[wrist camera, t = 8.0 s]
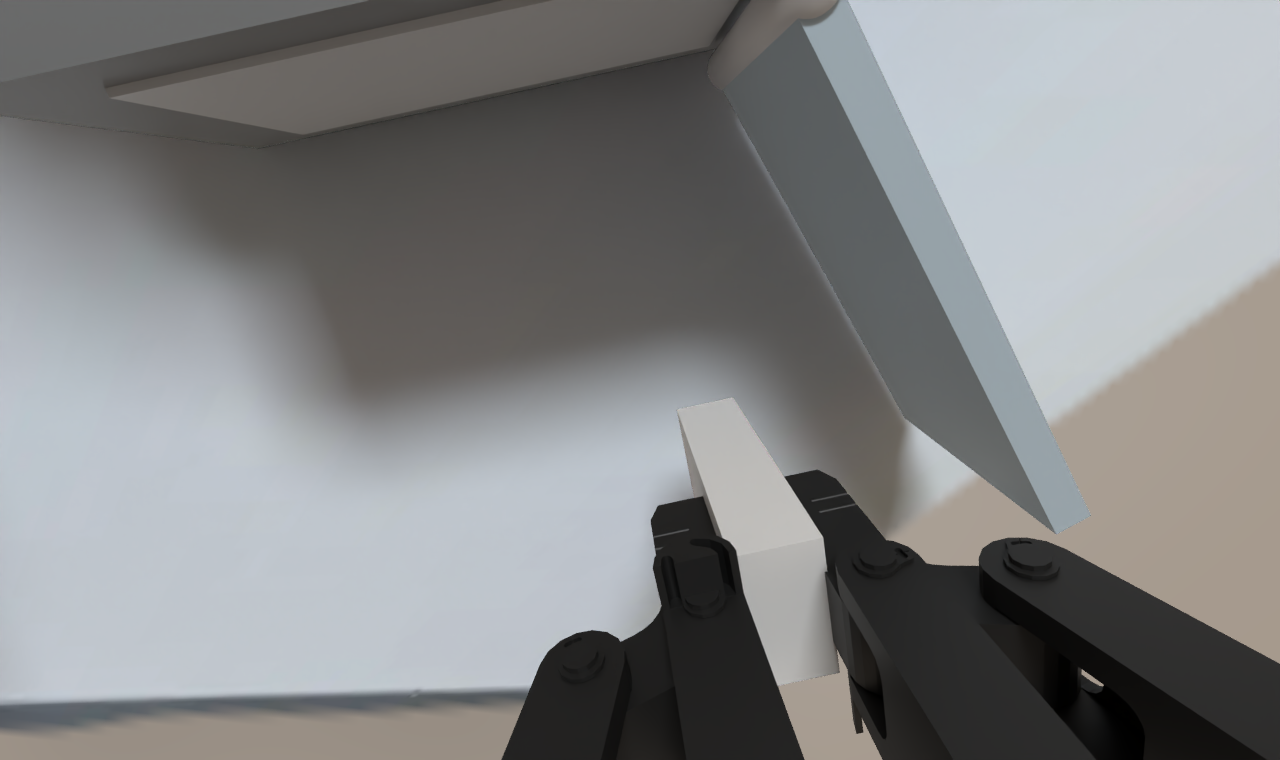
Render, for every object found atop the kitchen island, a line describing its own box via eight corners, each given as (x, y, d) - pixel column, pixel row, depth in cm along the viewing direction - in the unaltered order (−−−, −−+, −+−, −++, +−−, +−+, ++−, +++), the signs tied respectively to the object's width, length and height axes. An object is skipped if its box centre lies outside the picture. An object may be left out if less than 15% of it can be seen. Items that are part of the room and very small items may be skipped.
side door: (938, 395, 19) (1116, 505, 13) (899, 419, 20) (1053, 540, 13) (745, 29, 16) (845, -94, 9) (699, 62, 16) (763, -35, 9)
